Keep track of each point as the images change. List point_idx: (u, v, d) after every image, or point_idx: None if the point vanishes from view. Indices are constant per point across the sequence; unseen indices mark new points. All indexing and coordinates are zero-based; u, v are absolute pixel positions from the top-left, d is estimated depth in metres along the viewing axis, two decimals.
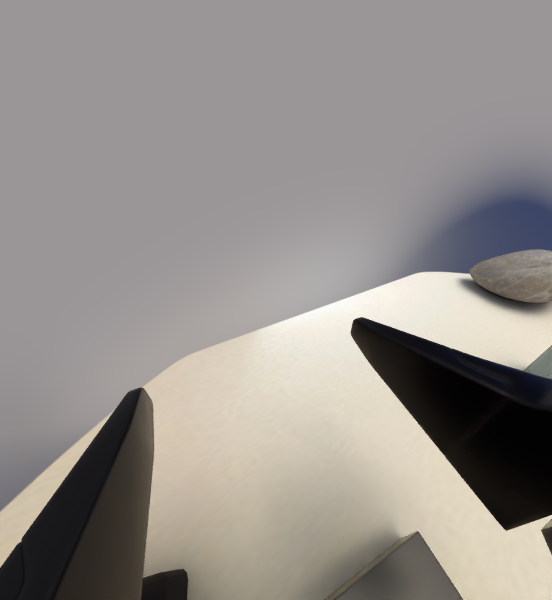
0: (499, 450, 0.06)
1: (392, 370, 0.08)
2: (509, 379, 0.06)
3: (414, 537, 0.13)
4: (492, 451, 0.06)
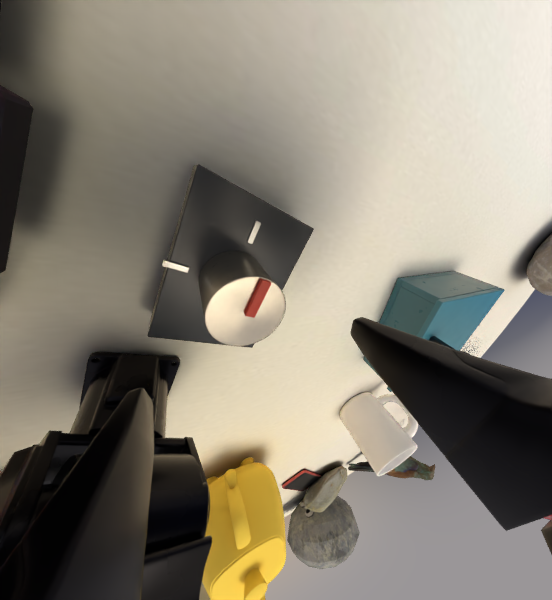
0: (500, 450, 0.06)
1: (392, 370, 0.08)
2: (509, 379, 0.06)
3: (308, 227, 0.14)
4: (492, 451, 0.06)
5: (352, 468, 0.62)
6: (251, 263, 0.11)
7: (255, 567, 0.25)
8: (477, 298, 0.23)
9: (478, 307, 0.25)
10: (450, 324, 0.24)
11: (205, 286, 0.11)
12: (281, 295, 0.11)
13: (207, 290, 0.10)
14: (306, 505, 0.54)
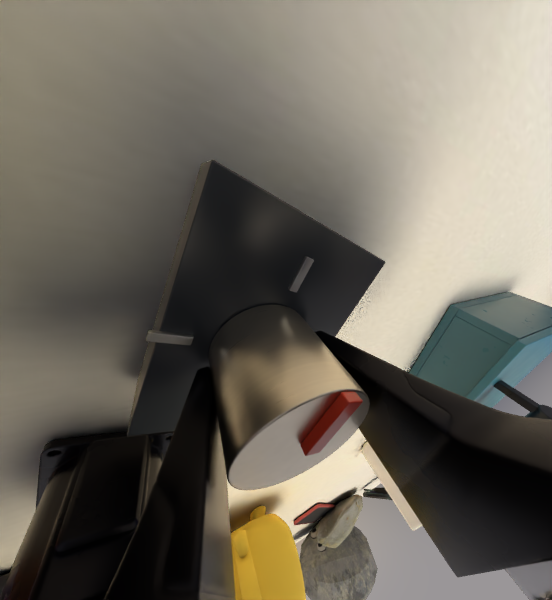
0: (446, 491, 0.05)
1: None
2: (455, 411, 0.05)
3: (378, 260, 0.09)
4: (438, 491, 0.05)
5: (367, 495, 0.57)
6: (305, 337, 0.06)
7: None
8: None
9: None
10: (521, 365, 0.19)
11: (225, 390, 0.06)
12: (366, 404, 0.06)
13: (230, 409, 0.05)
14: (319, 540, 0.49)
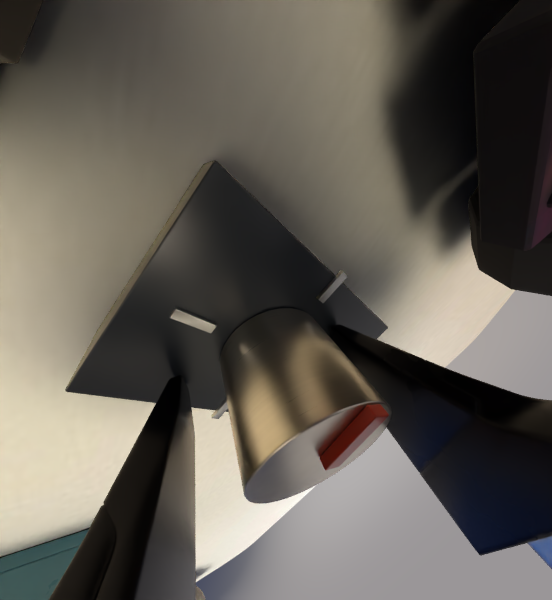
0: (471, 471, 0.05)
1: None
2: (480, 396, 0.05)
3: None
4: (463, 472, 0.05)
5: None
6: (323, 344, 0.06)
7: None
8: None
9: None
10: None
11: (240, 398, 0.05)
12: (388, 415, 0.06)
13: (247, 419, 0.05)
14: None
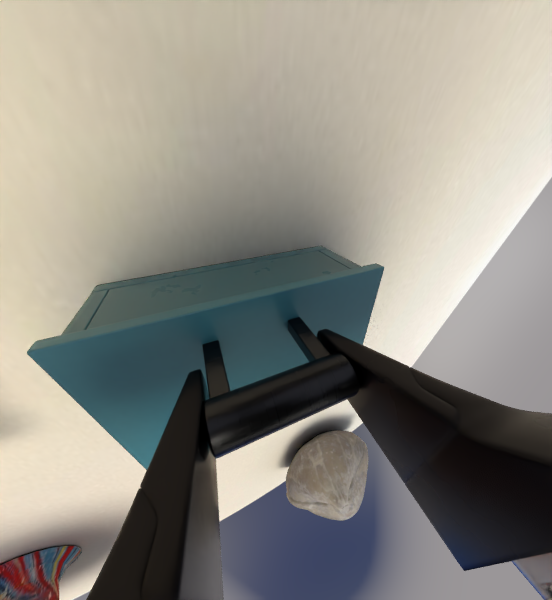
0: (453, 485, 0.05)
1: None
2: (463, 407, 0.05)
3: None
4: (446, 485, 0.05)
5: None
6: None
7: None
8: None
9: None
10: None
11: None
12: None
13: None
14: None
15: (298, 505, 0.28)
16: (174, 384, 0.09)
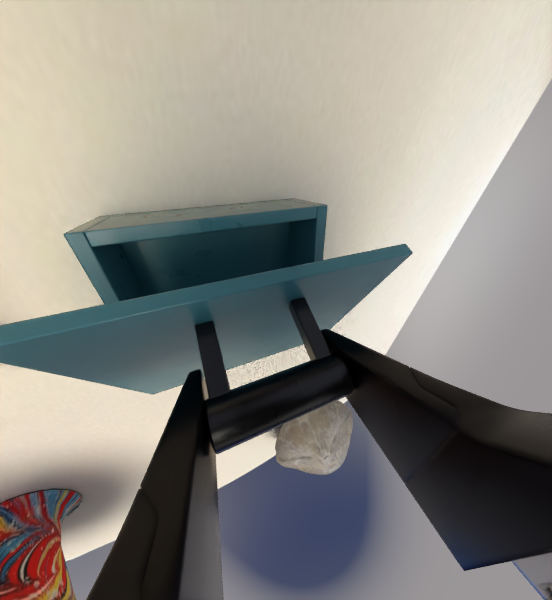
0: (453, 485, 0.05)
1: None
2: (463, 406, 0.05)
3: None
4: (446, 485, 0.05)
5: None
6: None
7: None
8: (340, 316, 0.15)
9: None
10: None
11: None
12: None
13: None
14: None
15: (285, 463, 0.30)
16: (163, 351, 0.09)
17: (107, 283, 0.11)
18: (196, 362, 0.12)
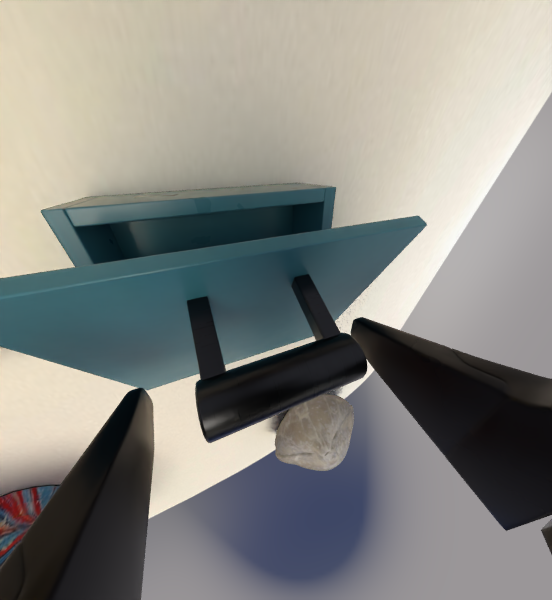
0: (500, 450, 0.06)
1: (392, 370, 0.08)
2: (509, 379, 0.06)
3: None
4: (492, 451, 0.06)
5: None
6: None
7: None
8: (346, 305, 0.14)
9: None
10: None
11: None
12: None
13: None
14: None
15: (285, 459, 0.30)
16: (153, 334, 0.08)
17: None
18: (192, 352, 0.11)
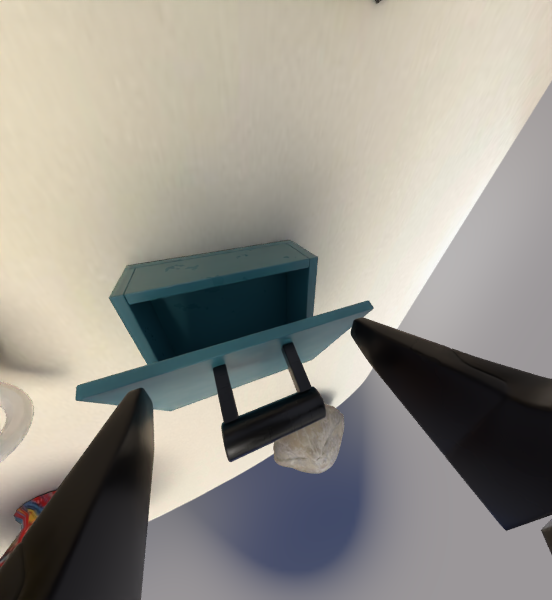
0: (500, 450, 0.06)
1: (392, 370, 0.08)
2: (509, 379, 0.06)
3: None
4: (492, 451, 0.06)
5: None
6: None
7: None
8: (327, 345, 0.18)
9: (305, 356, 0.19)
10: (300, 349, 0.15)
11: None
12: None
13: None
14: None
15: (282, 462, 0.33)
16: (187, 384, 0.12)
17: (139, 329, 0.14)
18: (209, 387, 0.15)
